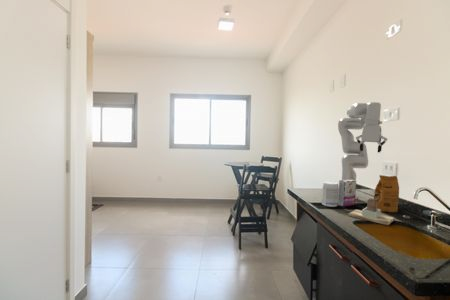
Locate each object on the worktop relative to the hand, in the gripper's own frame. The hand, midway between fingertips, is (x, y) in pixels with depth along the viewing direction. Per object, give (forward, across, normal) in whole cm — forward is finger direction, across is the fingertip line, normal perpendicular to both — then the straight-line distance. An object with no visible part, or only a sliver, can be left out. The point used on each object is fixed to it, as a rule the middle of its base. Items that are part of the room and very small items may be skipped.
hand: (370, 151), depth 167 cm
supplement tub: (+36, +20, +6) cm, 42 cm away
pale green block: (+35, -7, +14) cm, 38 cm away
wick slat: (+34, -7, +14) cm, 37 cm away
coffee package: (+36, -8, -11) cm, 39 cm away
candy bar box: (+37, +13, -4) cm, 39 cm away
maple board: (+36, -7, +14) cm, 40 cm away
